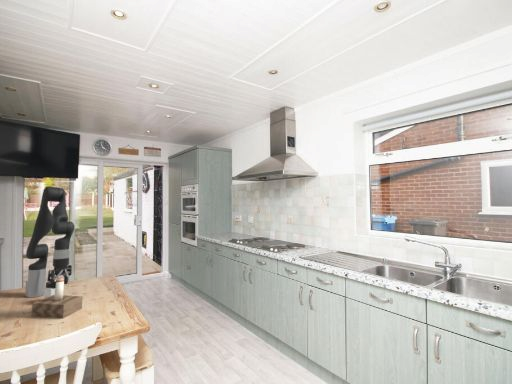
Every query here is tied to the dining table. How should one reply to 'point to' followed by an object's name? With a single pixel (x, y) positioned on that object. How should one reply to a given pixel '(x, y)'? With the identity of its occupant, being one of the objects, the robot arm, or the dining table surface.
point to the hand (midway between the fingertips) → (59, 286)
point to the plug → (59, 289)
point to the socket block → (56, 307)
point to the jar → (49, 290)
